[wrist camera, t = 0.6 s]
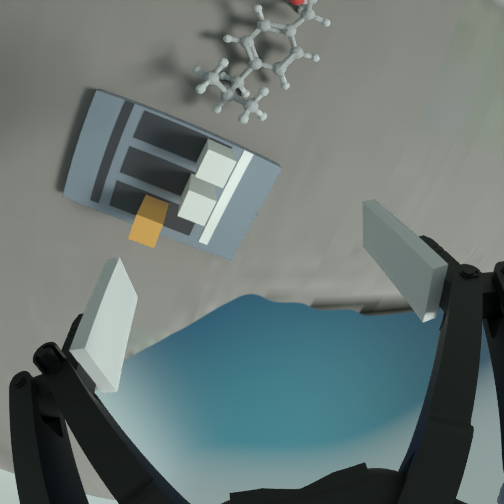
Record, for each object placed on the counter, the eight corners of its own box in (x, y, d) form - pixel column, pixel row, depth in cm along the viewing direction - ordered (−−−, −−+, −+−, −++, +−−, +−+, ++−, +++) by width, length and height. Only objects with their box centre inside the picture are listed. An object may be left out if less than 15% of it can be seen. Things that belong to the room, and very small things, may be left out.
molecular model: (240, 134, 37) (244, 149, 28) (180, 78, 33) (163, 75, 24) (354, 37, 31) (390, 27, 22) (298, -20, 27) (318, -49, 18)
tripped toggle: (138, 215, 37) (128, 238, 32) (146, 194, 36) (136, 214, 31) (160, 224, 38) (153, 248, 33) (168, 203, 37) (163, 224, 32)
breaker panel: (68, 191, 37) (41, 217, 29) (101, 89, 31) (75, 92, 24) (229, 253, 45) (235, 289, 37) (278, 164, 39) (296, 184, 32)
